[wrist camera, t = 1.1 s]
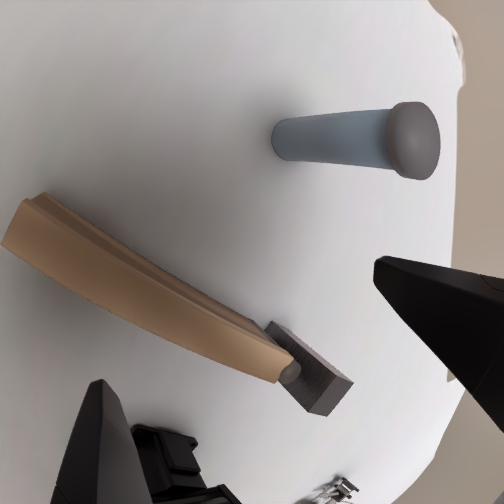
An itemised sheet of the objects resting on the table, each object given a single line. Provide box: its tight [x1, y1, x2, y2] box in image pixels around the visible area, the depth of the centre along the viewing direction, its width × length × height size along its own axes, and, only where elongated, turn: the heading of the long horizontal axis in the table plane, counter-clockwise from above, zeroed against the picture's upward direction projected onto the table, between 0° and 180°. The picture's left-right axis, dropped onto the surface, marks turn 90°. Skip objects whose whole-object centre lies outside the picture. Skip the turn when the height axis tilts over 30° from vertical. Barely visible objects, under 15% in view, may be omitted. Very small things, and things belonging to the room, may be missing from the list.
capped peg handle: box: [272, 102, 440, 180], centre depth 16 cm, size 4×4×11 cm
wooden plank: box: [1, 192, 301, 384], centre depth 17 cm, size 2×18×6 cm, turn 51°
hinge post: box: [264, 321, 354, 417], centre depth 22 cm, size 3×2×8 cm
